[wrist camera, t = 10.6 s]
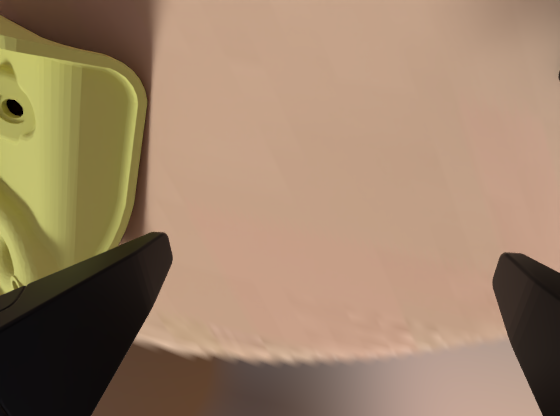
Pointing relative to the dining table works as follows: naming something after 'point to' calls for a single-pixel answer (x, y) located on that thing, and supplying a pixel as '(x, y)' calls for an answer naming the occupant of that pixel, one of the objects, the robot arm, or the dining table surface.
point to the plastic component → (63, 154)
